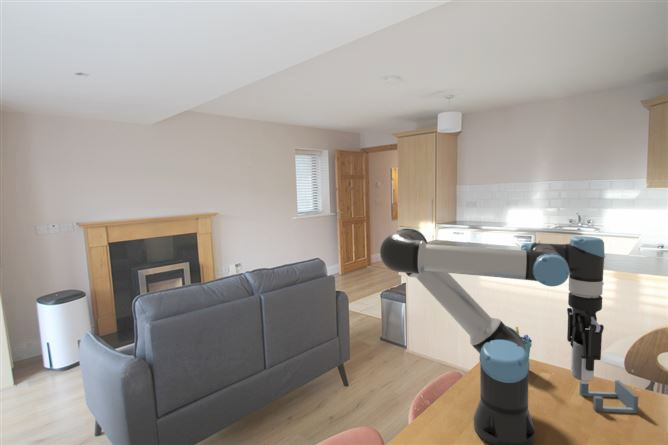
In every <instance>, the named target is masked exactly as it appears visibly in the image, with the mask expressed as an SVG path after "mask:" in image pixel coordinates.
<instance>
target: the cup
mask: <svg viewBox="0 0 668 445" xmlns="http://www.w3.org/2000/svg"><path fill="white" fill-rule="evenodd" d="M515 331H516V332H517V333H518V334H519V335H520V331H519V327H518V326H515ZM520 337H521V338H522V340H523V342H524V345H525V350H526V353H527V355H528V360H529V361H530V353H531V348H532V346H533V345H532V342H533V340H532V339H531V338H530V336H529V335H528V334H527V333H526V334H524V336H520Z"/></svg>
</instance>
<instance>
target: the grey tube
mask: <svg viewBox="0 0 668 445" xmlns="http://www.w3.org/2000/svg"><path fill="white" fill-rule="evenodd" d="M581 356H584V349H583V339H574V340H573V365H572V369H571V374H572V375H571V376H572V377H574V378H575V379H576V380H579V381H580V382H583V381H582V380H581V366H582V358H581Z"/></svg>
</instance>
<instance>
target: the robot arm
mask: <svg viewBox="0 0 668 445" xmlns="http://www.w3.org/2000/svg"><path fill="white" fill-rule="evenodd" d="M379 255H380V260H381V261H382V263H383V264H384V266H386V267H387V268H388V269H390V270H391V271H393V272H397V273H405V274H406V275H407V276H408V277H409V278H416V279H417V280H418V281H419V283H421V284H422V286H423V287H424V288H425V289H426V290H427V291H428V292H429V293H430V294H431V295H432V296H433V298H435V300H436V301H437V302H438V303H439V304H440V305H441V307H443V309H444V310H445V311H446V312H447V313H448V314H449V315H450V316H451V317H452V319H454V320H455V322H457V323H458V324H459V325H460V327H461V328H462V329H463V330H464V331H465V332H466V333H467V334H468V336H469V338H470V339H469V342H470V343H469V344H470V345H471V346H472V347H473V349H475V350H476V351H477V352H478V354H479V362H480V364H479V365H480V367H479V368H480V376H479V377H480V387H479V389H480V390H479V391H480V397H479V398H480V400H479V402H478V403H477V407H476V409H475V412H474V415H473V428H474V430H475V432H476V434H477V436H478V437H480V438H481V440H482V441H484V442H486V443H488V444H489V445H534V444H535V443H536V428H535V425H534V423H533V422H534V421H533V419H532V416H531V414H530V413H531V412H530V410H529V371H530V366H531V365H530V359H529V360H528V355H527V353H526V350H525V345H524V342H523V340H522V338H521V337H522V336H521V335H520V333H519V334H518V333H517V332H516V329H514V328H513V327H510V326H507V325H506V324H504V322H503V321H502V320H501V319H499V318H494V317H491V316H490V315H489V314H488V313H487V312H486V311H485V310H484V309H483V307H482V306H481V305H480V304H479V303H478V302H477V301H476V300H475V299H474V298H473V297H472V295H470V294H469V293H468V292H467V291H466V289H464V288H463V286H462V285H460V283H459V282H458V281H457V280H456V279H455V278H454V277H453V276H452V275H451V274H457V275H468V276H477V277H478V276H479V277H480V276H481V277H490V278H501V279H502V278H503V279H511V280H512V279H515V280H523V281H524V280H525V281H533V282H534V281H535V282H539V283H540V284H541V285H544V286H547V287H557V286H558V287H559V286H561V285H563V284H564V283H566V281H568V291H569V292H568V295H567V296H568V298H567V299H568V300H567V301H568V302H567V303H568V306H569V307H567V310H566V311H567V339H566V340H567V342H568V343H569V344H570V347H571V359H570V360H571V361H570V365H571V366H570V370H572V365H573V340H574V339H583V349H584V356H581V358H582V366H581V380H582V381H581V380H580V381H581V382H594V378H595V377H594V375H595V374H594V373H595V361H601V360H602V359H601V358H602V357H601V356H602V340H603V339H602V338H603V333H604V324H599V323H598V318H597V312H600V311H601V310H602V309H603V297H602V295H603V289H604V288H603V287H604V268H605V267H604V265H605V258H606V255H605V242H604V240H602V239H601V238H599V237H594V236H584V235H583V236H573V237H571V238H570V242H569V243H563V244H562V243H561V244H560V243H539V242H529V243H528V242H526V243H523V244H522V245H521V246H520V249H506V248H493V247H492V248H490V247H475V246H462V245H461V246H460V245H459V246H458V245H444V244H441V245H440V244H428V240H427V239H426V237H425V235H424V234H423V233H422V232H421V231H419V230H417V229H414V228H401V229H399V230H397V231H396V232H394V233H393V234H391V235H389V236H387V237H386V238H385V239H384V240H383V241H382V243H381V245H380V249H379Z"/></svg>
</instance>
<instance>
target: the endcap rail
mask: <svg viewBox="0 0 668 445" xmlns="http://www.w3.org/2000/svg"><path fill="white" fill-rule="evenodd" d="M589 387H590V386H589V382H588V381H580V382H579V396H580V397H593V402H592V404H593V405H592V406H593V407H592V408H593V409H592V410H594V412H607V413H608V412H609V413H623V414H624V413H626V414H629V413H630V414H638V408H639V407H638V406H639V396H638V395H637V394H636V393H634V392H633V390H631V389H629V388H630V387H629V388H628V386H627V385H625V384H624V383H623V382H622V381H620V380H618V379H617V380H615V379H614V391H613V392H612V391H611V392H610V391H592V390H591V391H589ZM604 398H617V400H619V401H620V402H621V403H622V404H623V405H624V406H605V405H604ZM625 406H626V407H625Z"/></svg>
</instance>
